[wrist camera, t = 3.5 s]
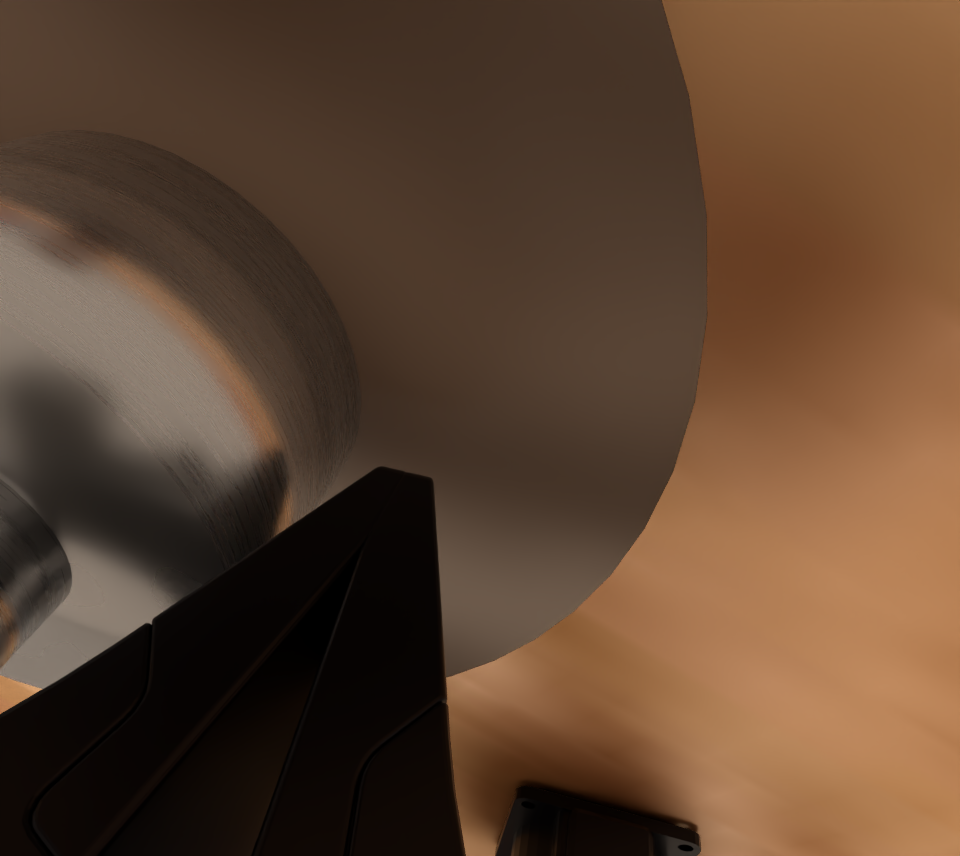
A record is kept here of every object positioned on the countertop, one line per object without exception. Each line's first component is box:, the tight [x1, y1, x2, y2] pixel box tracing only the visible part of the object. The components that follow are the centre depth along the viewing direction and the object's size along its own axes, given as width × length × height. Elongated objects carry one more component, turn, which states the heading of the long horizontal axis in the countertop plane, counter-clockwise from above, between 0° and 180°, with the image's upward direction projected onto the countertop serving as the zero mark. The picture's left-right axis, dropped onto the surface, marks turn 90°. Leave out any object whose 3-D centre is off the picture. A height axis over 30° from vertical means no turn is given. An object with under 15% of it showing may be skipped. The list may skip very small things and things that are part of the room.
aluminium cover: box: [0, 130, 361, 689], centre depth 8 cm, size 7×7×6 cm
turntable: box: [0, 0, 707, 677], centre depth 10 cm, size 20×20×5 cm
